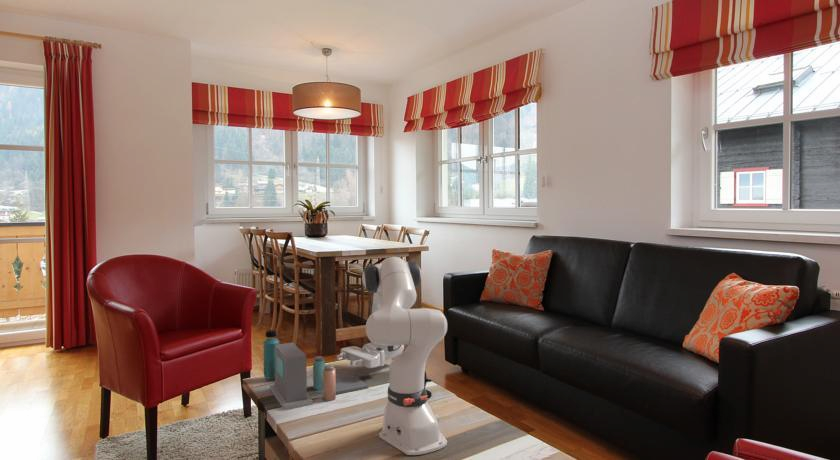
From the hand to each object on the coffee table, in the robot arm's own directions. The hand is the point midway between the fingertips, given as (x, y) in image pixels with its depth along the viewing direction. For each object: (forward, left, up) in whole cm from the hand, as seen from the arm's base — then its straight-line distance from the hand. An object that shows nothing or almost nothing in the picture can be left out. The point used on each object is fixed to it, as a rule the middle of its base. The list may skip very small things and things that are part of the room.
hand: (344, 360), depth 201 cm
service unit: (-6, +24, -8) cm, 26 cm away
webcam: (-29, -19, -8) cm, 36 cm away
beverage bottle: (+15, +26, -8) cm, 31 cm away
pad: (-6, +2, -8) cm, 10 cm away
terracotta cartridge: (-15, +12, -8) cm, 21 cm away
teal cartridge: (-3, +12, -8) cm, 14 cm away
